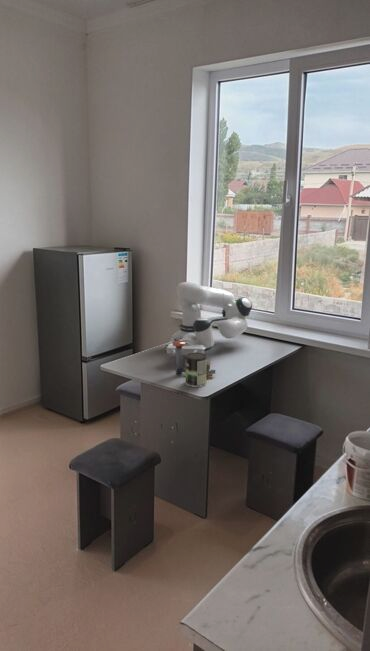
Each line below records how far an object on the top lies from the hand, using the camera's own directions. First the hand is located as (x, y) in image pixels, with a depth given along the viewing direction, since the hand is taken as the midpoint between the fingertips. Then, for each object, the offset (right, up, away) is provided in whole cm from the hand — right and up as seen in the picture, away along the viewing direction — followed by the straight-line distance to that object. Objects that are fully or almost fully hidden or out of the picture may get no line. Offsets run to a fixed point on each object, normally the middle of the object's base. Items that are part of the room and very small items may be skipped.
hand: (183, 354), depth 259 cm
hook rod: (+5, -10, -6) cm, 13 cm away
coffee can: (+6, -13, -17) cm, 22 cm away
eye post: (+11, -11, -7) cm, 17 cm away
